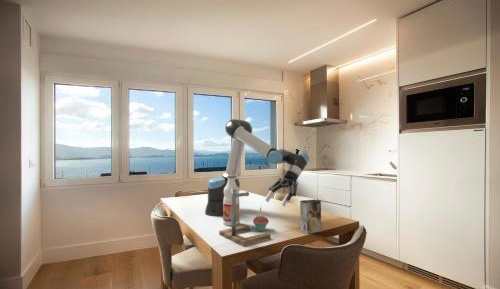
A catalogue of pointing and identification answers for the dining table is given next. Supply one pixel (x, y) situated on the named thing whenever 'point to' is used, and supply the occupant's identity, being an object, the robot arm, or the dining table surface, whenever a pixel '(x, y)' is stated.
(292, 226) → the dining table surface
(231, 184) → the fruit juice
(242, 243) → the wooden u-shaped base
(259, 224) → the cupcake
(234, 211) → the hook post
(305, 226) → the coffee box
